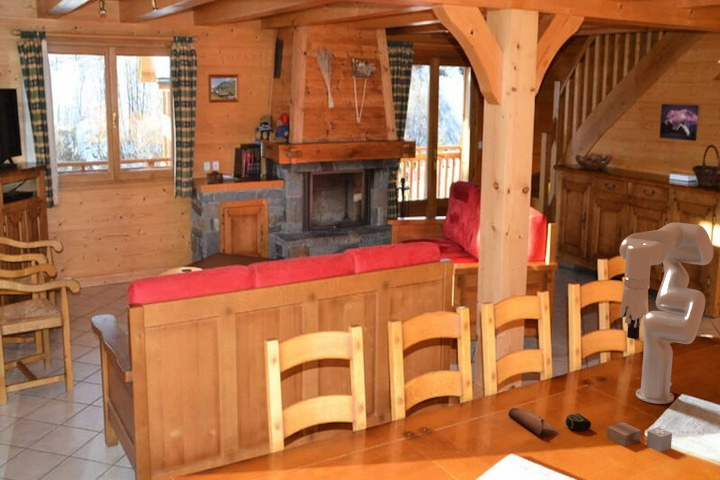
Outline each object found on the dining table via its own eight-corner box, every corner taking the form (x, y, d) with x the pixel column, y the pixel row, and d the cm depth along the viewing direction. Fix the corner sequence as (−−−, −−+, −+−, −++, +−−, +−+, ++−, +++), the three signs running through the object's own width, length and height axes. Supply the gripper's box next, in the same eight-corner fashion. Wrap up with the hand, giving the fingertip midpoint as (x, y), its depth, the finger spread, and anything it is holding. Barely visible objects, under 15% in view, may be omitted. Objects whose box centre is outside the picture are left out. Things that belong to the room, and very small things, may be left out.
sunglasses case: (562, 433, 241) (554, 418, 239) (546, 447, 239) (538, 433, 237) (528, 412, 257) (520, 398, 255) (513, 425, 256) (505, 411, 253)
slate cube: (657, 442, 236) (658, 426, 235) (670, 448, 232) (672, 432, 231) (646, 445, 233) (647, 430, 232) (660, 452, 229) (661, 436, 228)
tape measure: (591, 431, 244) (592, 420, 243) (573, 434, 242) (573, 423, 241) (579, 422, 250) (580, 411, 249) (561, 425, 248) (562, 414, 247)
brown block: (621, 433, 242) (622, 421, 241) (639, 442, 236) (640, 430, 235) (606, 438, 238) (607, 426, 238) (624, 447, 233) (625, 435, 232)
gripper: (635, 276, 248) (632, 330, 252) (614, 285, 238) (610, 340, 241) (658, 280, 243) (654, 335, 247) (637, 289, 232) (633, 346, 236)
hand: (632, 337), depth 244 cm, fingers closed
